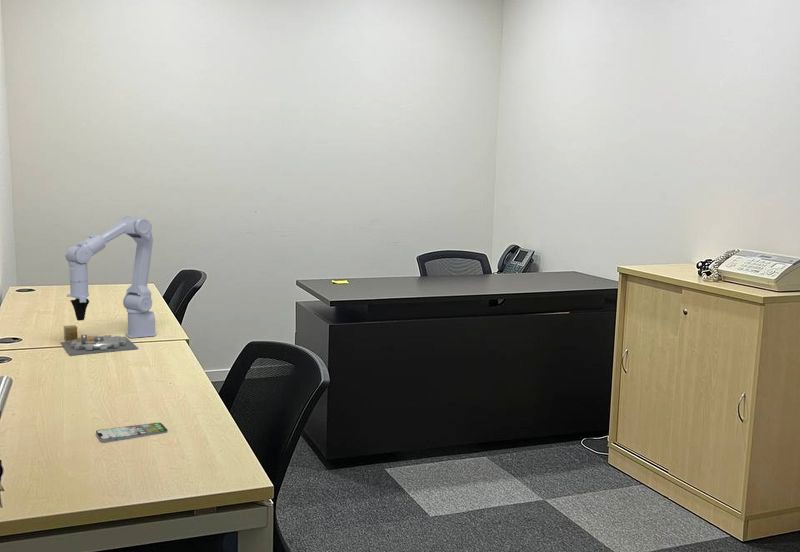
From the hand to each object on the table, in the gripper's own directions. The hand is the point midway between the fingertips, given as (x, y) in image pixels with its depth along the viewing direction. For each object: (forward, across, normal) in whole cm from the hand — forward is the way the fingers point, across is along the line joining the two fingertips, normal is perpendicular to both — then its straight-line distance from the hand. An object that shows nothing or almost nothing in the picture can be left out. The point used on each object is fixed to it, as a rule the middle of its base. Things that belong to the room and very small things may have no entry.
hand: (80, 320), depth 264 cm
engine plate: (+9, +2, +5) cm, 11 cm away
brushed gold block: (+10, -13, -2) cm, 16 cm away
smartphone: (+10, +100, -4) cm, 100 cm away
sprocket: (+9, +2, +5) cm, 11 cm away
